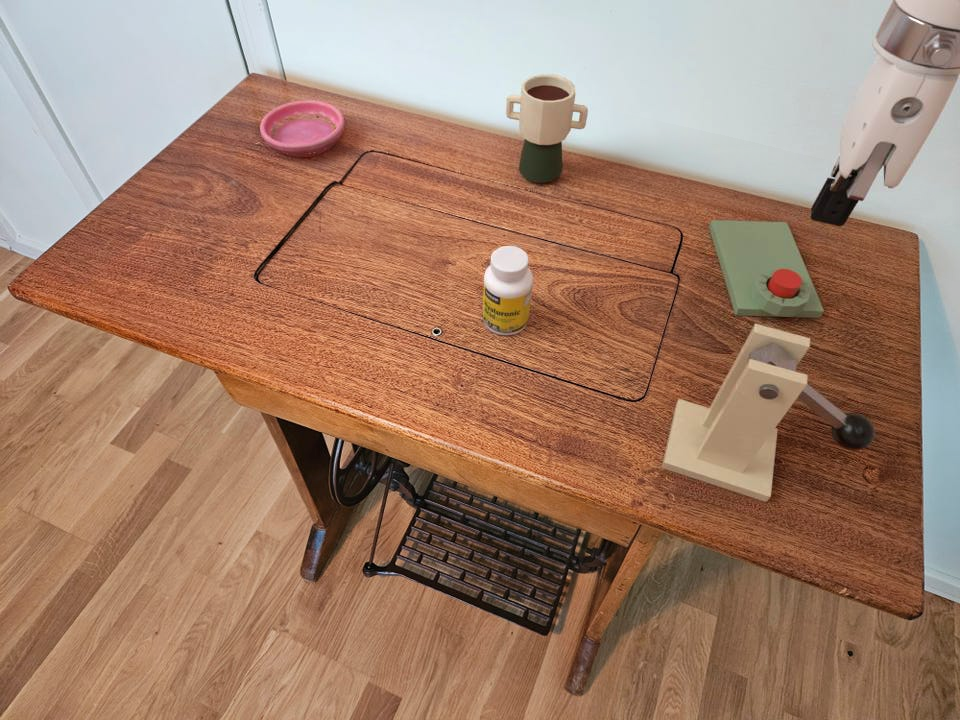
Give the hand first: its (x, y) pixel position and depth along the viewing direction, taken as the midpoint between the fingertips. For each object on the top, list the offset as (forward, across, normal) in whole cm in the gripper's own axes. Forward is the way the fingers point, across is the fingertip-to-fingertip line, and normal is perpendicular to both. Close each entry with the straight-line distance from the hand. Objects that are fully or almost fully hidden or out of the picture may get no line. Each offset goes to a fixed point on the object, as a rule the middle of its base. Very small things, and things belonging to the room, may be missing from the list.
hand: (826, 218), depth 63 cm
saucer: (+14, +10, +70) cm, 72 cm away
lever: (+4, -22, 0) cm, 22 cm away
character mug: (+14, +15, +34) cm, 40 cm away
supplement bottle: (+14, -13, +29) cm, 35 cm away
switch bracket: (+14, -22, +4) cm, 26 cm away
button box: (+14, +6, +2) cm, 15 cm away
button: (+11, +1, 0) cm, 11 cm away
